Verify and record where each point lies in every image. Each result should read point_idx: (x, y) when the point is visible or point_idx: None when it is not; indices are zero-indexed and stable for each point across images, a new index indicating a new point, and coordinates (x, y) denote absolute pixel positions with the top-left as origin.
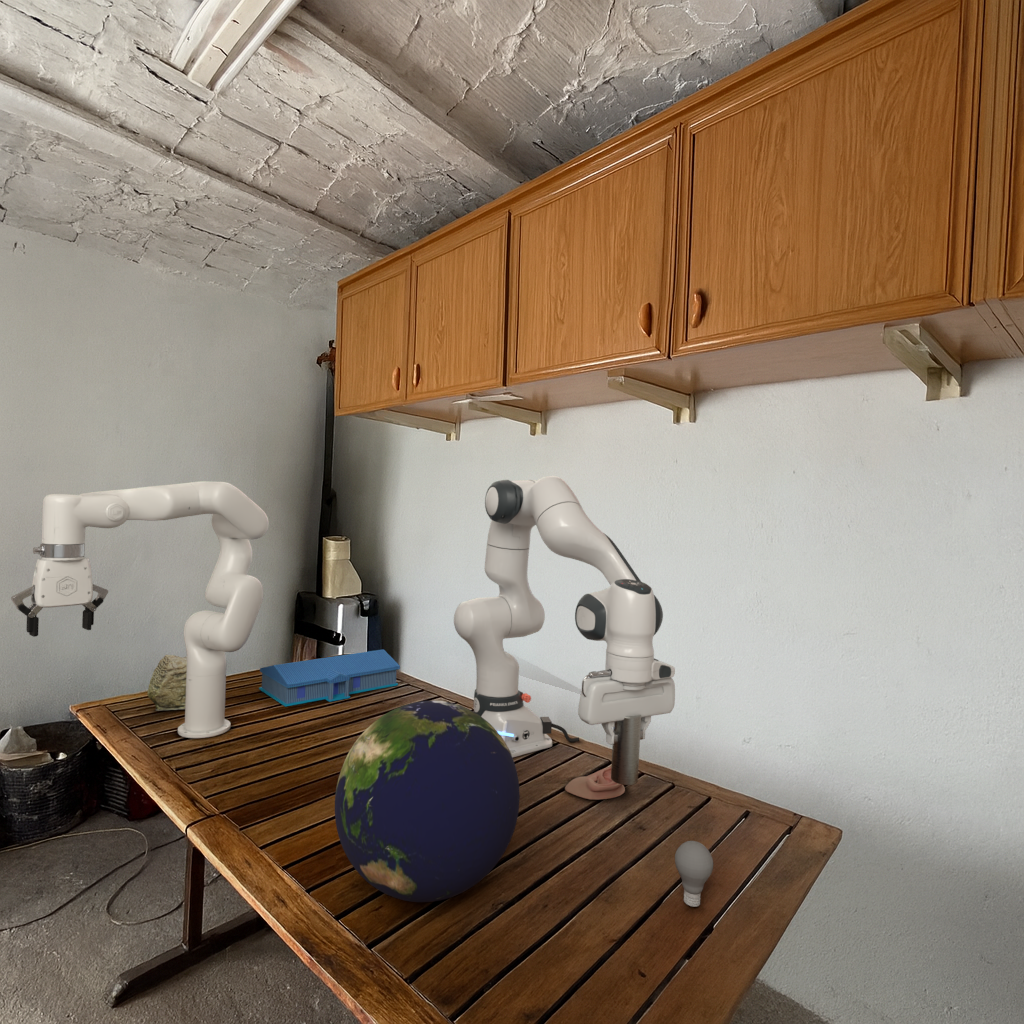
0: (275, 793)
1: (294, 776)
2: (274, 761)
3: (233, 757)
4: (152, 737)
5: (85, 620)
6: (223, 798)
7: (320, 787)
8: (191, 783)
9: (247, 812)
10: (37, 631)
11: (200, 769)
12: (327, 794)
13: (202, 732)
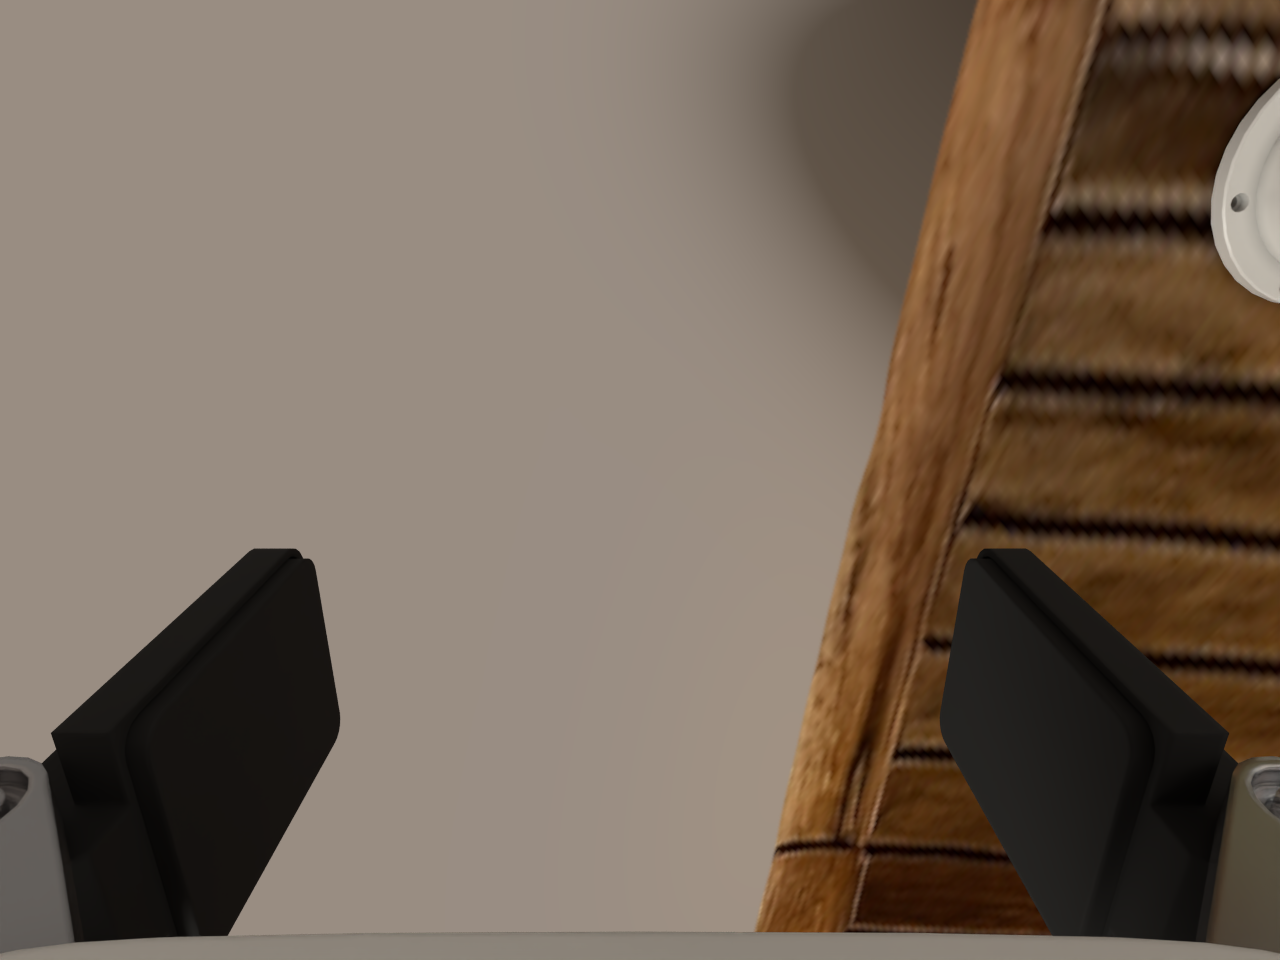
0: None
1: None
2: (1205, 682)
3: (1157, 558)
4: (1134, 83)
5: (1008, 748)
6: (923, 788)
7: None
8: (929, 648)
9: (909, 885)
10: (308, 771)
11: None
12: None
13: (1276, 266)
